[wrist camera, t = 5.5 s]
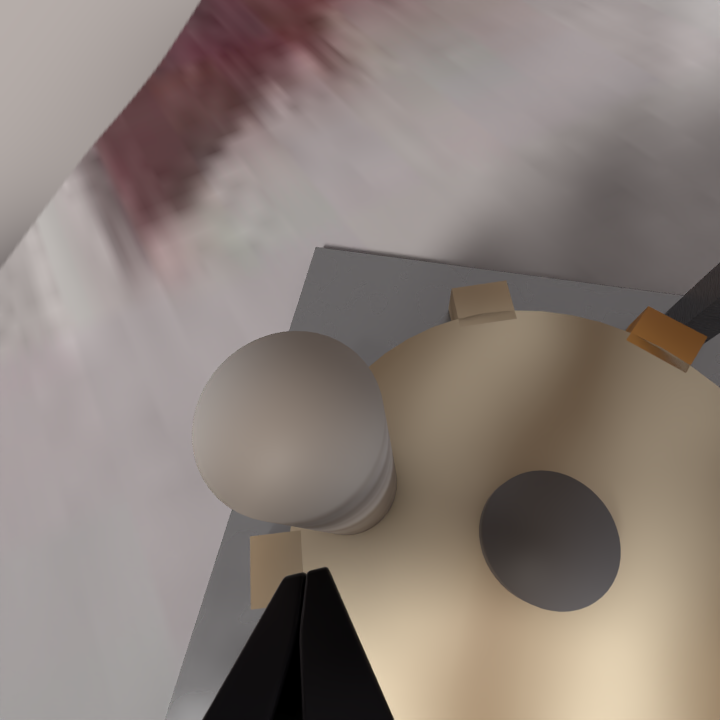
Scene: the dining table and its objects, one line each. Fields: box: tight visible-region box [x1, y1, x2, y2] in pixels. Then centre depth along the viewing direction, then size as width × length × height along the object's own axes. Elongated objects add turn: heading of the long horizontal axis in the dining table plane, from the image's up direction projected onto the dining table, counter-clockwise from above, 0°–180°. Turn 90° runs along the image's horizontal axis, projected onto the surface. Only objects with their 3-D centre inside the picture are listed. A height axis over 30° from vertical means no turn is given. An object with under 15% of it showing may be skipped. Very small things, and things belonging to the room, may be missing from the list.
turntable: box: [192, 280, 720, 720], centre depth 10 cm, size 17×17×9 cm
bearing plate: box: [165, 247, 720, 720], centre depth 13 cm, size 20×20×4 cm
